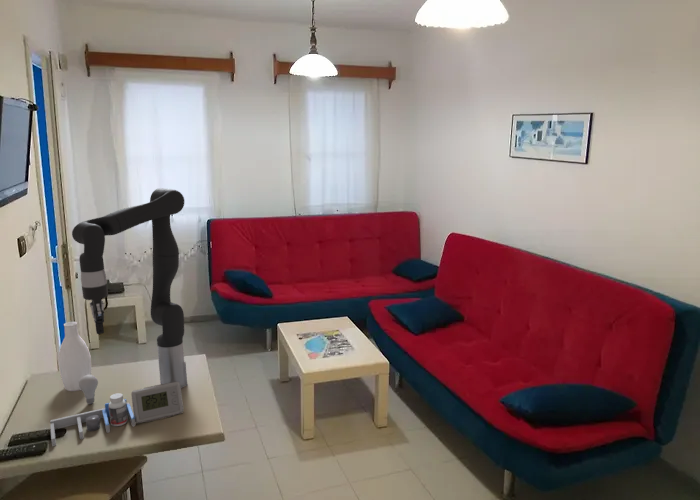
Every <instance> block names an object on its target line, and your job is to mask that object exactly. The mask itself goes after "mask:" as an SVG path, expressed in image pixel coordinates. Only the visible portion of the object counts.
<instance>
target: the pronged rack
mask: <svg viewBox="0 0 700 500" xmlns="http://www.w3.org/2000/svg"><path fill="white" fill-rule="evenodd" d="M123 399H124V398H123ZM124 400H125V401H126V407H127V417H128V418H129V421H130V425H131V426H132V427H135V426H136V423H135V417H134V412H133V408H132V406H131V404H130V402H127V399H126V398H125V399H124ZM109 403H110V402H106V403H104V407H102V408H98V409H94V410H90V411H85V412H82V413H77V414H72V415H68V416H63V417H59V418H56V419H50V421H49V422H50V423H49V424H50V439H51V447H56V446H57V444H56V443H57V442H56V431H55V430H57V429H56V428H58V429H62V428H66V427H70V426H75V425H77V428H78V434H79V439H80V440H83V439H85V438H84V431H83V426H82V424H83V423H85V424H86V425H85V426H86V431H88V432H94V431H97V430H99V429H100V428H101V422H100V421H101V419H102V420H103V423H104V427H105V431H106V434H107V433H111V430H110V429H111V428H110V423H109V421H110V420H109V418H110V414H109Z"/></svg>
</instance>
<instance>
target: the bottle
mask: <svg viewBox="0 0 700 500" xmlns="http://www.w3.org/2000/svg"><path fill="white" fill-rule="evenodd" d="M63 326H64V338H63V340H62V342H61V345H60V347H59V351H58V359H57V360H58V361H57V363H58V368H59V374H60V378H61V381H62V385H63V388H64V389H65V391H68V392H78V391H82V390H81V389H80V387H79V381H80V379H81V378H82V377H83V376H85V375H92V370H93V369H92V356H91V353H90V350H89V347H88V345H87V343H86V341H85V340H84V339H83V338H82V337H81V335H80V334H79V330H78V322H77V321H67V322H65V323H63Z"/></svg>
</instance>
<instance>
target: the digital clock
mask: <svg viewBox="0 0 700 500" xmlns="http://www.w3.org/2000/svg"><path fill="white" fill-rule="evenodd" d="M130 395H131V403H132V412H133V415H134V417H135V424H142V423H149V422H153V421H158V420H162V419H167V418H171V417H174V416H177V415H180V414H183V413H184V411H185V409H184V403H183V396H182V388H181V387H180V383H179V382H173V383H168V384H167V383H165V384H161V383H160V384H157V385H152V386H147V387H143V388H140V389H134V390H132V391H131V394H130Z"/></svg>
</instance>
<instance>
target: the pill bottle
mask: <svg viewBox="0 0 700 500" xmlns="http://www.w3.org/2000/svg"><path fill="white" fill-rule="evenodd" d="M109 401H110V402H108V403H109V414H110V417H109V421H110V423H109V424H110V425H111V426H112V427H121V426H124V425H125V424H126V423H127V422H128V421H129V419H128V418H129V416H128V413H127V407H126V403H127V400H126V401H125V400H124V395H123V393H120V392H119V393H117V392H116V393H113V394H111V395H110V396H109Z"/></svg>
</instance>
